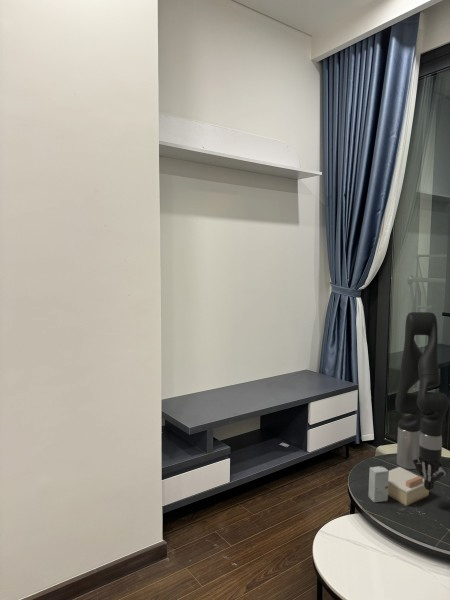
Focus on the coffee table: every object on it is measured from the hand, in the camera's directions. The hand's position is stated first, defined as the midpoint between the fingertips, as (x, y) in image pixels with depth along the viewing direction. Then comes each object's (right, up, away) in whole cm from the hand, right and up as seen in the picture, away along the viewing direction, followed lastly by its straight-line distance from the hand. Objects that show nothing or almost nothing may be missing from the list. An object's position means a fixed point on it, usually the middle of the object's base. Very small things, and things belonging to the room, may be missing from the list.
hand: (428, 489), depth 160 cm
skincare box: (-17, -7, +6) cm, 19 cm away
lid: (-5, -1, +10) cm, 11 cm away
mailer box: (-5, -6, +10) cm, 13 cm away
